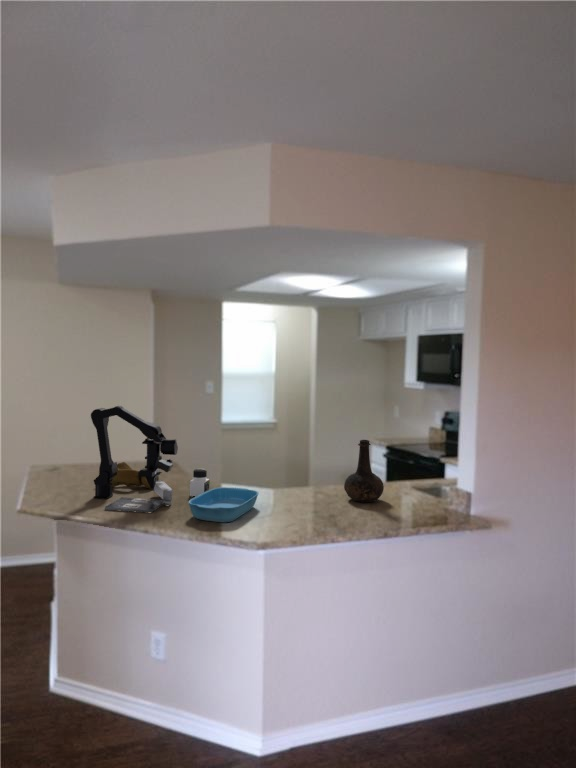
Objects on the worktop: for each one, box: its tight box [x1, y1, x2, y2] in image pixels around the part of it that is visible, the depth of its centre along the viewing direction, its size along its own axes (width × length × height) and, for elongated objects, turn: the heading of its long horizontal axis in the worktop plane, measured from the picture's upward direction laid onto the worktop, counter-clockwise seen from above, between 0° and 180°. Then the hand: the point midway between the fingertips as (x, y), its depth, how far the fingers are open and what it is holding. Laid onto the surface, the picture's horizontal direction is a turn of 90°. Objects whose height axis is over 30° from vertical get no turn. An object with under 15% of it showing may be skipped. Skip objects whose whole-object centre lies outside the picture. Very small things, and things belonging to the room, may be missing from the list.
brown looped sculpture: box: [110, 461, 160, 490], centre depth 266 cm, size 18×13×22 cm
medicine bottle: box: [189, 468, 210, 497], centre depth 254 cm, size 7×7×12 cm
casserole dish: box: [188, 486, 260, 523], centre depth 228 cm, size 37×22×7 cm, turn 164°
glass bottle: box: [343, 439, 385, 503], centre depth 255 cm, size 18×18×28 cm
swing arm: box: [153, 480, 173, 501], centre depth 243 cm, size 20×4×4 cm, turn 26°
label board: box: [104, 497, 172, 513], centre depth 232 cm, size 24×16×2 cm
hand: (152, 488), depth 245 cm, fingers closed
